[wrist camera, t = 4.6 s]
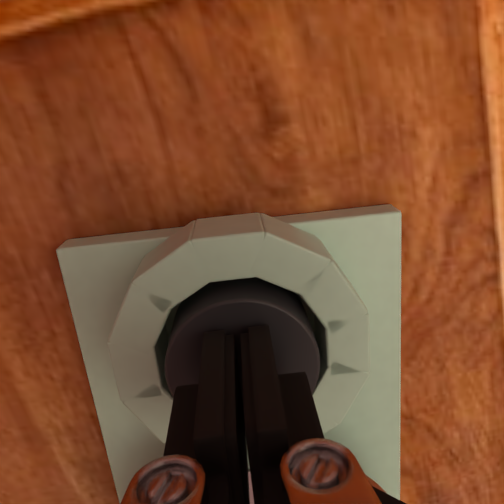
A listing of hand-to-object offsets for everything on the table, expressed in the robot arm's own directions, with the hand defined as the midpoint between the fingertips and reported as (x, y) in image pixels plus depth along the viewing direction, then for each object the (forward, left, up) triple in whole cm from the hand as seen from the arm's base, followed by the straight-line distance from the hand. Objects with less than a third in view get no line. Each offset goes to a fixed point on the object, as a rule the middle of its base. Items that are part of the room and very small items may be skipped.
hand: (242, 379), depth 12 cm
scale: (+4, 0, -4) cm, 5 cm away
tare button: (0, 0, -2) cm, 2 cm away
